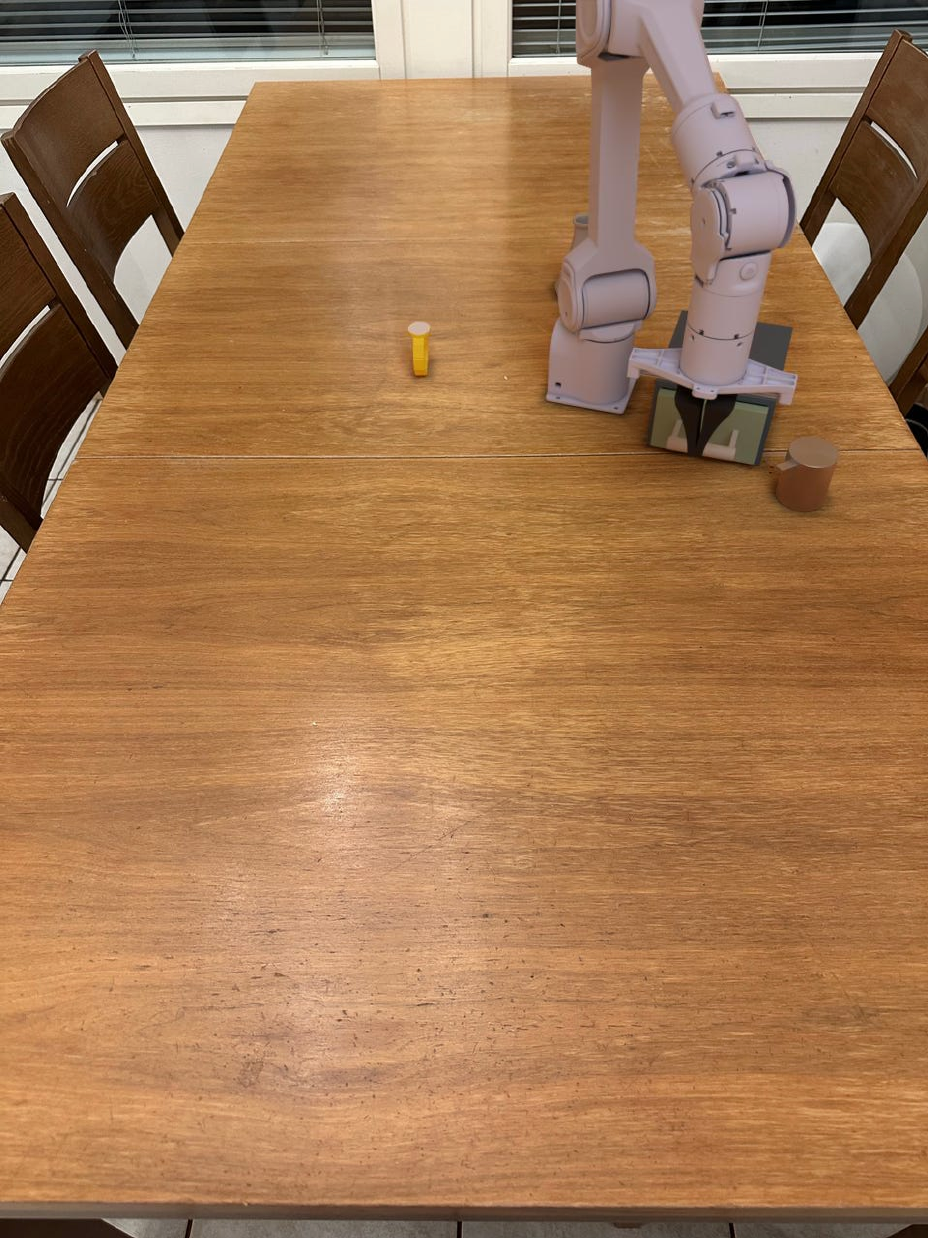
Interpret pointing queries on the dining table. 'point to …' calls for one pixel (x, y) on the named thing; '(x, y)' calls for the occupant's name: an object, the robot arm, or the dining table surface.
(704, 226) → the robot arm
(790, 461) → the measuring cup
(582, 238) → the flask
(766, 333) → the cabinet
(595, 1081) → the dining table surface
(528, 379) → the dining table surface
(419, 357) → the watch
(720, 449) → the drawer
